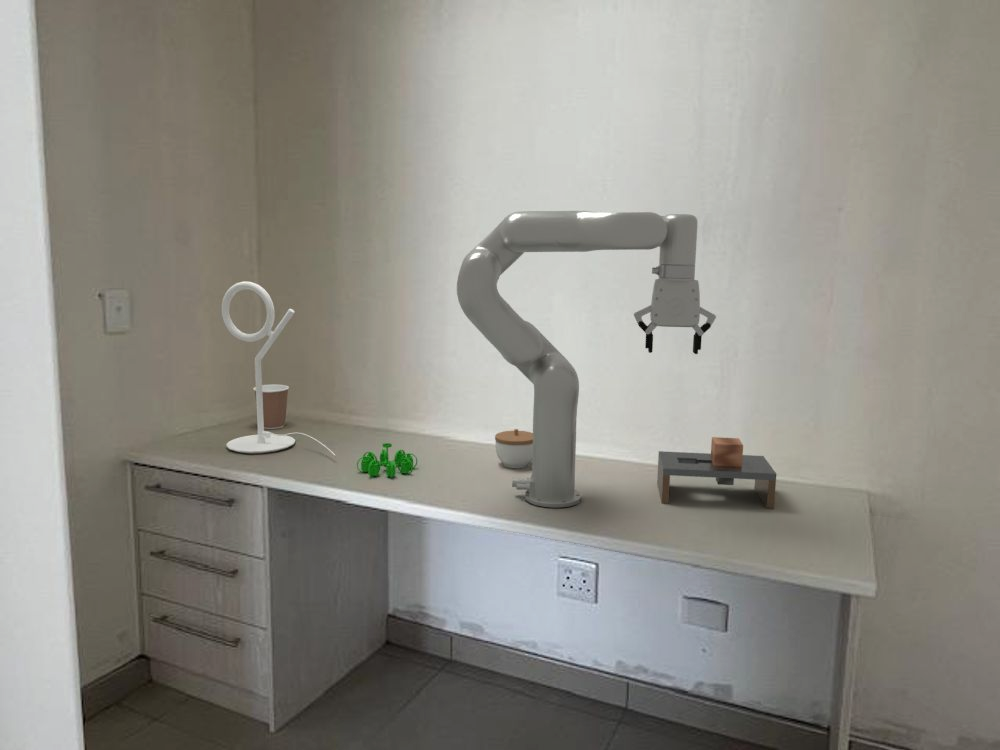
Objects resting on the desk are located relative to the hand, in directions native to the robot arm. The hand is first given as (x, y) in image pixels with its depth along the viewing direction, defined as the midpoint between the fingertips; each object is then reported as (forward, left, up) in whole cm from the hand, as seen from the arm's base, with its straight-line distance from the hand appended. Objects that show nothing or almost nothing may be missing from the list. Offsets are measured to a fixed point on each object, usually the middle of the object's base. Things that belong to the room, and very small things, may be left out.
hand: (672, 352), depth 171 cm
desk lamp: (-99, +26, -34) cm, 108 cm away
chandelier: (-67, +11, -34) cm, 76 cm away
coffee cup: (-113, +49, -34) cm, 128 cm away
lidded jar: (-36, +21, -34) cm, 53 cm away
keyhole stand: (+11, +4, -33) cm, 35 cm away
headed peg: (+13, +4, -30) cm, 33 cm away
